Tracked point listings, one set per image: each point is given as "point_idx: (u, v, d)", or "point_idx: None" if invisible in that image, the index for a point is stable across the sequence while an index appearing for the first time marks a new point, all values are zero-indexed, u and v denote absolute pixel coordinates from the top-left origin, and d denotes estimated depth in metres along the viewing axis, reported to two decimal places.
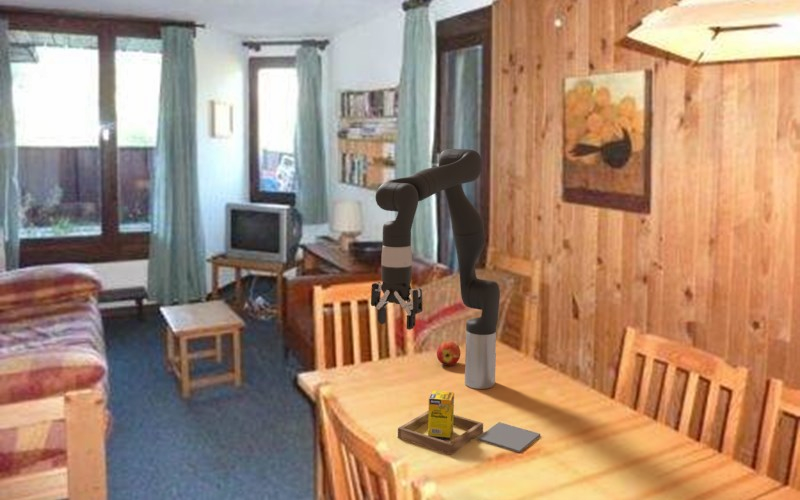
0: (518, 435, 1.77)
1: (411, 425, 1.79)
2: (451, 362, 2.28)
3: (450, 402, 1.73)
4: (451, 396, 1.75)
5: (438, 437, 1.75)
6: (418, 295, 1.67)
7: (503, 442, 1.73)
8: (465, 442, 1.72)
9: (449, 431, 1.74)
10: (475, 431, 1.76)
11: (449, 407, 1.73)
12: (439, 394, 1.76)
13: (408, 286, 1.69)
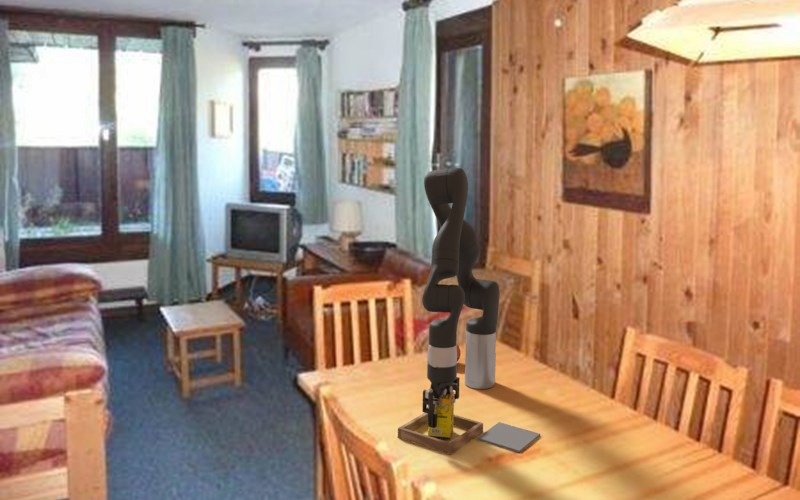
0: (518, 435, 1.77)
1: (411, 425, 1.79)
2: None
3: (450, 402, 1.73)
4: (451, 396, 1.75)
5: (438, 437, 1.75)
6: None
7: (503, 442, 1.73)
8: (465, 442, 1.72)
9: (449, 431, 1.74)
10: (475, 431, 1.76)
11: (449, 407, 1.73)
12: None
13: None
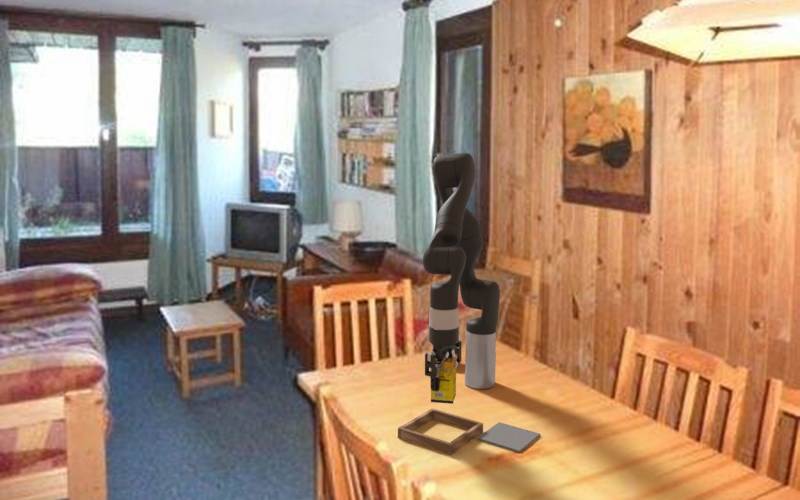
0: (518, 435, 1.77)
1: (411, 425, 1.79)
2: None
3: (452, 365, 1.71)
4: (453, 359, 1.74)
5: (441, 401, 1.74)
6: None
7: (503, 442, 1.73)
8: (465, 442, 1.72)
9: (452, 395, 1.73)
10: (475, 431, 1.76)
11: (451, 370, 1.72)
12: None
13: None
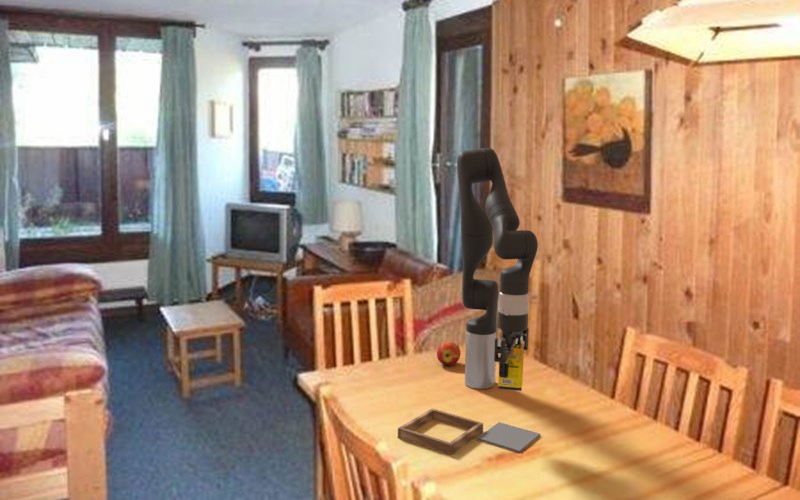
0: (518, 435, 1.77)
1: (411, 425, 1.79)
2: (451, 362, 2.28)
3: (522, 351, 1.69)
4: (522, 346, 1.72)
5: (509, 387, 1.71)
6: None
7: (503, 442, 1.73)
8: (465, 442, 1.72)
9: (520, 381, 1.70)
10: (475, 431, 1.76)
11: (521, 356, 1.69)
12: None
13: None
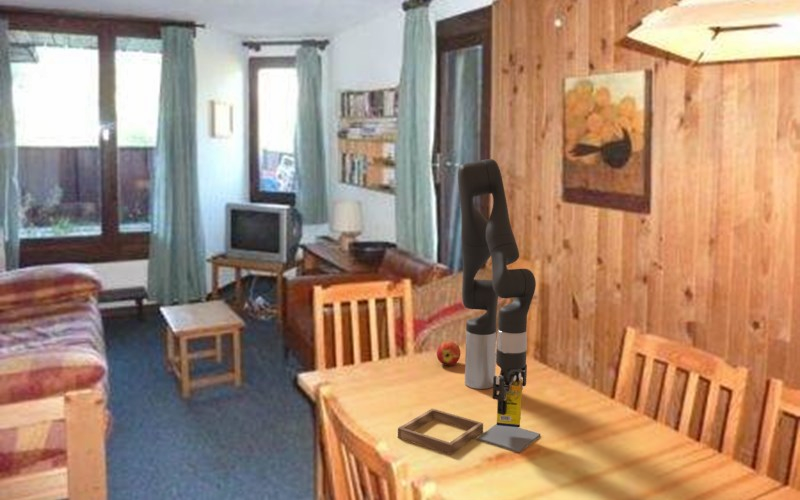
0: (518, 435, 1.77)
1: (411, 425, 1.79)
2: (451, 362, 2.28)
3: (520, 388, 1.71)
4: (520, 383, 1.73)
5: (507, 424, 1.73)
6: None
7: (503, 442, 1.73)
8: (465, 442, 1.72)
9: (519, 418, 1.72)
10: (475, 431, 1.76)
11: (519, 393, 1.71)
12: None
13: None
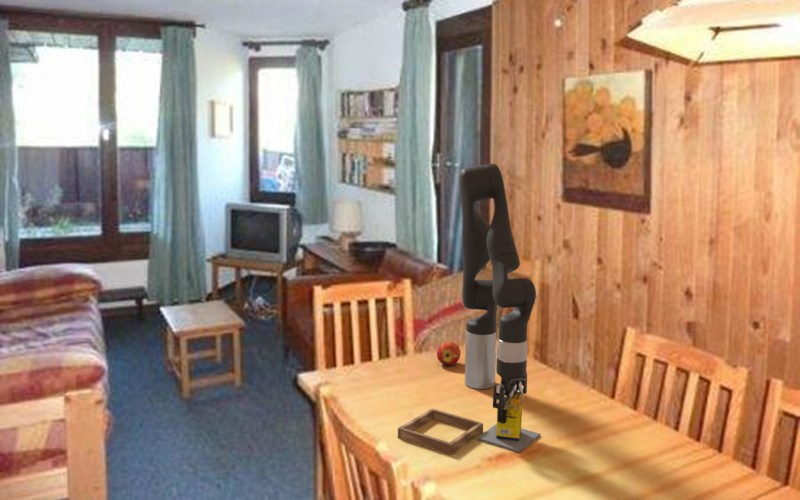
0: None
1: (411, 425, 1.79)
2: (451, 362, 2.28)
3: (519, 402, 1.72)
4: (520, 396, 1.74)
5: (506, 437, 1.74)
6: None
7: (503, 442, 1.73)
8: (465, 442, 1.72)
9: (518, 432, 1.73)
10: (475, 431, 1.76)
11: (518, 407, 1.72)
12: None
13: None
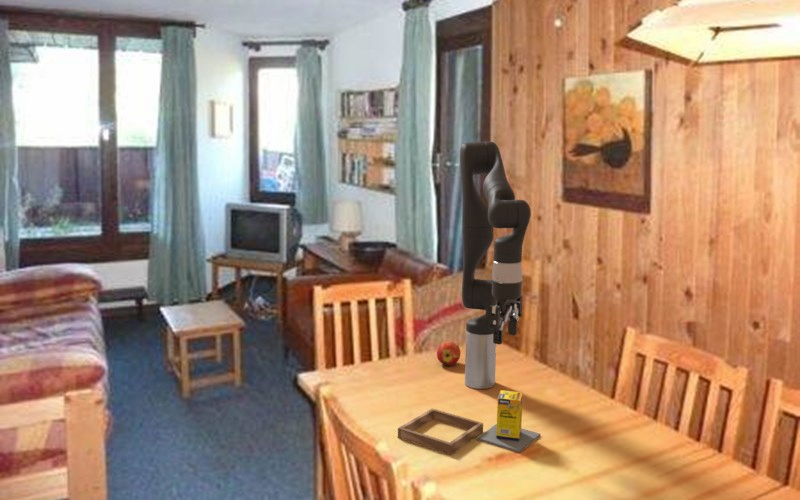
0: None
1: (411, 425, 1.79)
2: (451, 362, 2.28)
3: (519, 402, 1.72)
4: (520, 396, 1.74)
5: (506, 437, 1.74)
6: None
7: (503, 442, 1.73)
8: (465, 442, 1.72)
9: (518, 432, 1.73)
10: (475, 431, 1.76)
11: (518, 407, 1.72)
12: (508, 394, 1.75)
13: None
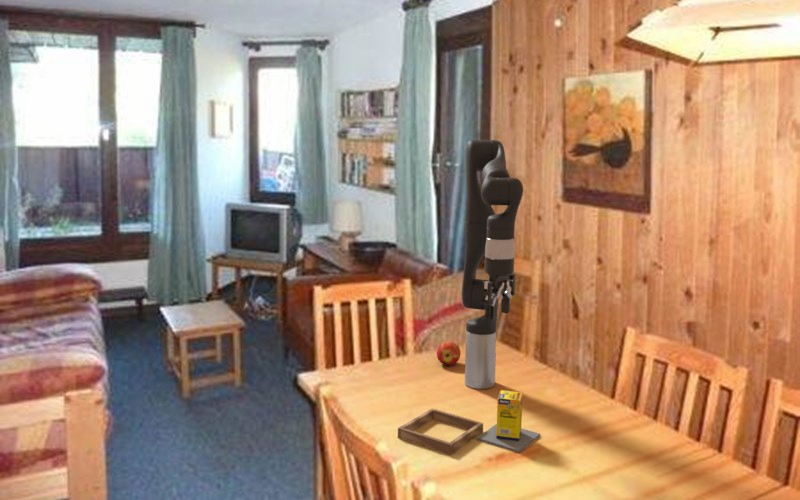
0: None
1: (411, 425, 1.79)
2: (451, 362, 2.28)
3: (519, 402, 1.72)
4: (520, 396, 1.74)
5: (506, 437, 1.74)
6: None
7: (503, 442, 1.73)
8: (465, 442, 1.72)
9: (518, 432, 1.73)
10: (475, 431, 1.76)
11: (518, 407, 1.72)
12: (508, 394, 1.75)
13: None
